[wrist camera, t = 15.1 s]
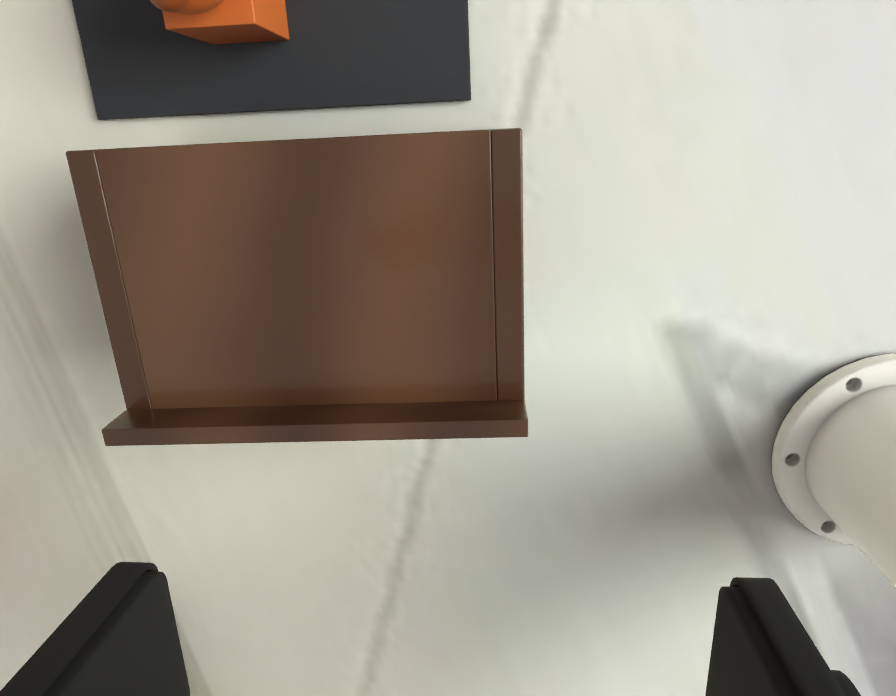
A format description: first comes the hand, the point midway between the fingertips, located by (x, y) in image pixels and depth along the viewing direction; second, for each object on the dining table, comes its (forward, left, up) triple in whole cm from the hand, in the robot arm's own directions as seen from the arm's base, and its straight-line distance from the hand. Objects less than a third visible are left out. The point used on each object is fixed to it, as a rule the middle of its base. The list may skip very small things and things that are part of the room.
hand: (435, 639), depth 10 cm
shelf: (+6, -2, -27) cm, 28 cm away
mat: (+9, -15, -27) cm, 32 cm away
